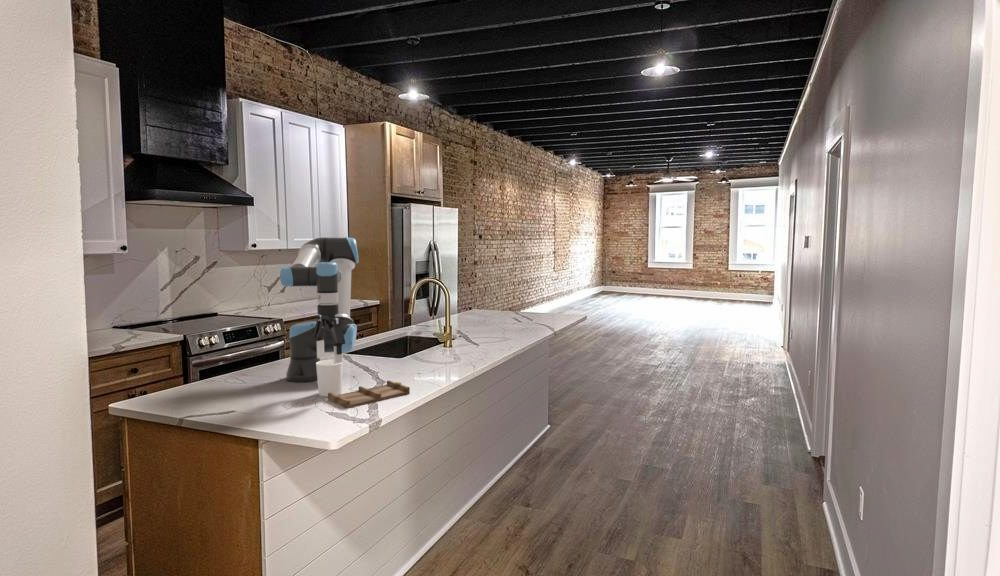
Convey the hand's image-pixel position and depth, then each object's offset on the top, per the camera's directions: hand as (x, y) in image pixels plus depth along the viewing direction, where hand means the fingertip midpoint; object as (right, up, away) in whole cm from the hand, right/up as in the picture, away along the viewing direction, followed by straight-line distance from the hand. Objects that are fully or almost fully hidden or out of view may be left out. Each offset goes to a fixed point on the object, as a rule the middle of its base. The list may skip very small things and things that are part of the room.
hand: (329, 360), depth 213 cm
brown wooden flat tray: (+16, -13, -3) cm, 21 cm away
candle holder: (0, -13, +2) cm, 13 cm away
